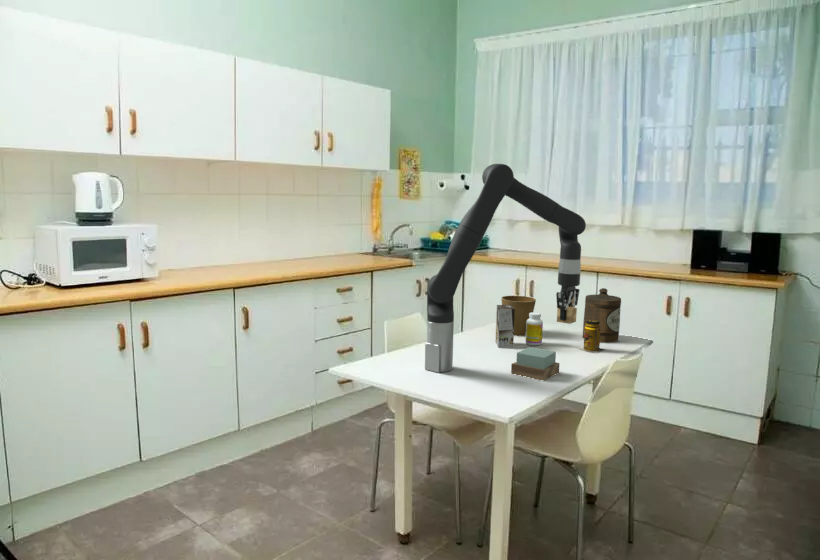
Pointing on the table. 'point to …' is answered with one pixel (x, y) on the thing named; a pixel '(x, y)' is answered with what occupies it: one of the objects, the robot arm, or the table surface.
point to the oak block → (568, 315)
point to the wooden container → (604, 314)
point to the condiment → (592, 336)
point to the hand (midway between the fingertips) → (566, 318)
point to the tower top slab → (536, 358)
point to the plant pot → (520, 311)
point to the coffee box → (505, 326)
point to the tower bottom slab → (535, 371)
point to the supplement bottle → (534, 329)
